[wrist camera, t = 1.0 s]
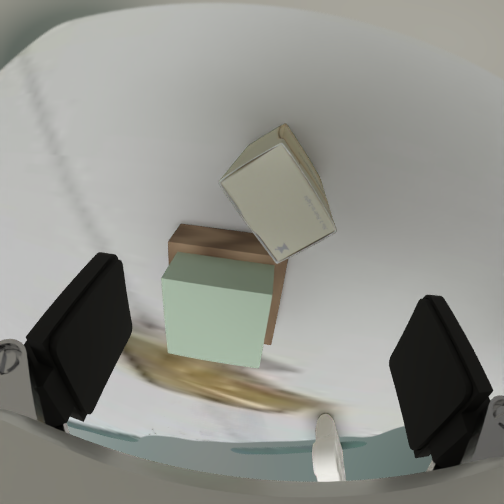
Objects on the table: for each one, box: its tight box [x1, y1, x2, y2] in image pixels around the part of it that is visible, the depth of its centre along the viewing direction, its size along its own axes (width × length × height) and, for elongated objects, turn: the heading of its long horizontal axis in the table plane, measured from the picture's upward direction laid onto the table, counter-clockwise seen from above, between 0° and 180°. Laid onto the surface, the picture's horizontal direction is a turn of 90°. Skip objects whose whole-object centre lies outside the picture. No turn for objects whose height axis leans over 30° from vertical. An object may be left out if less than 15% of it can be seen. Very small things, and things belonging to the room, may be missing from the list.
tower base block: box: [168, 224, 288, 345], centre depth 33 cm, size 11×11×4 cm
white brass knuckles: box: [312, 414, 346, 482], centre depth 42 cm, size 3×18×15 cm, turn 19°
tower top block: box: [161, 252, 275, 368], centre depth 29 cm, size 9×9×4 cm
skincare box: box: [219, 124, 337, 264], centre depth 22 cm, size 6×4×12 cm
